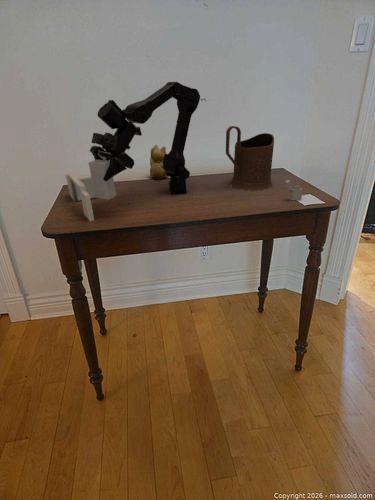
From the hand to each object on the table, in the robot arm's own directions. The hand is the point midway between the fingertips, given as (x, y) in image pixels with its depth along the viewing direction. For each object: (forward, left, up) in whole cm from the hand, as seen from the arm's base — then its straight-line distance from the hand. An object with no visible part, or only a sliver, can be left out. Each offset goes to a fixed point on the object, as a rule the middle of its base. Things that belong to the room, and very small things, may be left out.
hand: (98, 178), depth 102 cm
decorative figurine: (-19, -45, -13) cm, 50 cm away
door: (+7, -21, -13) cm, 25 cm away
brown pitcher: (-57, -27, -13) cm, 64 cm away
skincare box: (-1, -1, -7) cm, 7 cm away
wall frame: (+10, -11, -13) cm, 20 cm away
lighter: (-69, -6, -13) cm, 71 cm away
